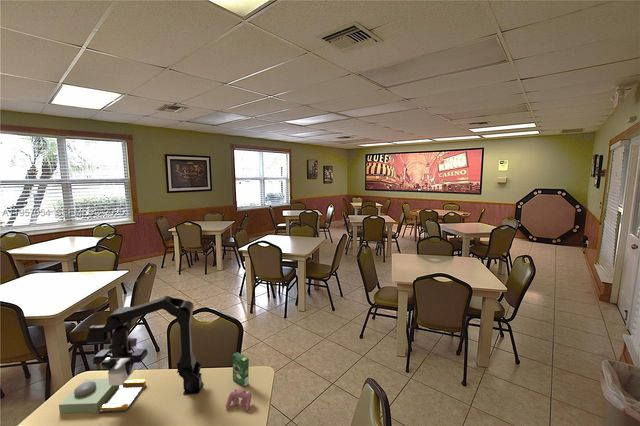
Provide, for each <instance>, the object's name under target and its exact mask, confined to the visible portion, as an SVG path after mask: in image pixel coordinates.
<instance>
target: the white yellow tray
mask: <svg viewBox="0 0 640 426" xmlns="http://www.w3.org/2000/svg"><path fill="white" fill-rule="evenodd" d="M146 381H147V380H146V379H129V380H128V379H127V380H126V381H125V383H124V384H123V385H119V387H118V389H117V390H116V391H115V392H114V393H113V395H112V396H111V397H110V398H109V399H108V400H107V402H106V403H105V404H104V405H103V406H102V408H101V409H100V410H99V411H98V414H109V413H110V414H113V413H114V414H115V413H117V414H118V413H126V412H128V410H129V409H130V407H131V406H132V405H133V403H134V402H135V400H136V399H137V397H138V396H139V395H140V393H141V392H142V391H143V389H144V388H145V386H146V385H147V384H146Z"/></svg>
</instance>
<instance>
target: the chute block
mask: <svg viewBox="0 0 640 426" xmlns="http://www.w3.org/2000/svg"><path fill="white" fill-rule="evenodd" d="M127 361H128V358H125V359H118V361H116V364H115V365H114V366H113V367H112V368H111V369H110V370H108V372H107V375H108V379H109V386H113V385H119V386H120V385H123V384H124V383H125V381H126V380H128V379H129V378H130V376H131V375H132V374H133V373H134V372H135V363H134V364H133V367H132V370H131V373H130V375H128V374H127V371H126V366H125V363H126V362H127Z"/></svg>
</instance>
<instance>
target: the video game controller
mask: <svg viewBox="0 0 640 426" xmlns="http://www.w3.org/2000/svg"><path fill="white" fill-rule="evenodd" d="M252 398H253V395H252V393H251V391H249V390H247V389H243V388H238V389H232V390H231V391H230V392H229V394H228V396H227V400H226V403H225V409H226V410H228V409H229V408H230V406H231V404H232V403H233V405H234V406H235V405H238V404H239V403H240V405H241V406H245V411H246V412H248V411H249V410H250V407H251V401H252ZM240 399H241V400H240Z"/></svg>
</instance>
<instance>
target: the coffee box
mask: <svg viewBox="0 0 640 426" xmlns="http://www.w3.org/2000/svg"><path fill="white" fill-rule="evenodd" d="M249 360H250V359H249V357H247V356H245V355H243V354H242V353H240V352H238V351H236V352H235V353H233V354H232V380H233V381H234V382H235V383H237V384H238V385H240V386H242V387H243V386H244V387H243V388H245V387H246V386H248V385H249V369H250V368H249ZM247 384H248V385H247Z"/></svg>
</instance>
